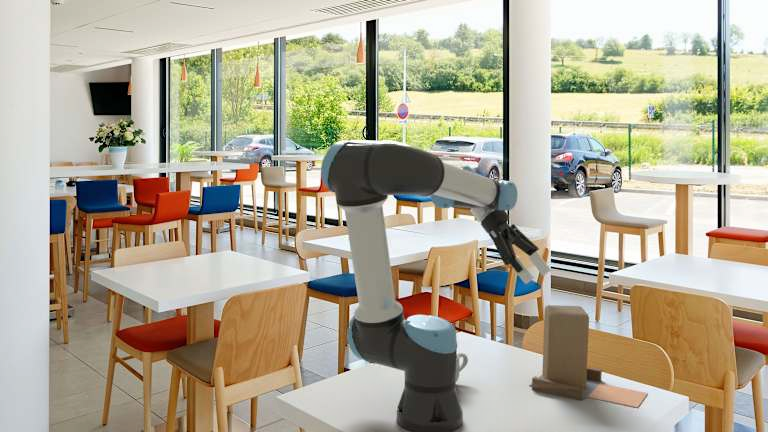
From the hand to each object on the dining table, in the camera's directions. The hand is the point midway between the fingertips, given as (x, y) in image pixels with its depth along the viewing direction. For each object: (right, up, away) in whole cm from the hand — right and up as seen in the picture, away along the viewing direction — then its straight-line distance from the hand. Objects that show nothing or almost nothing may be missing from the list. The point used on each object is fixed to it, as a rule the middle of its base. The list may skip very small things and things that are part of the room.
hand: (538, 277), depth 176 cm
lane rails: (+7, -28, -1) cm, 29 cm away
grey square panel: (+7, -28, -1) cm, 29 cm away
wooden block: (+6, -28, -1) cm, 29 cm away
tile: (+18, -29, -9) cm, 35 cm away
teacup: (-25, -28, -2) cm, 38 cm away
